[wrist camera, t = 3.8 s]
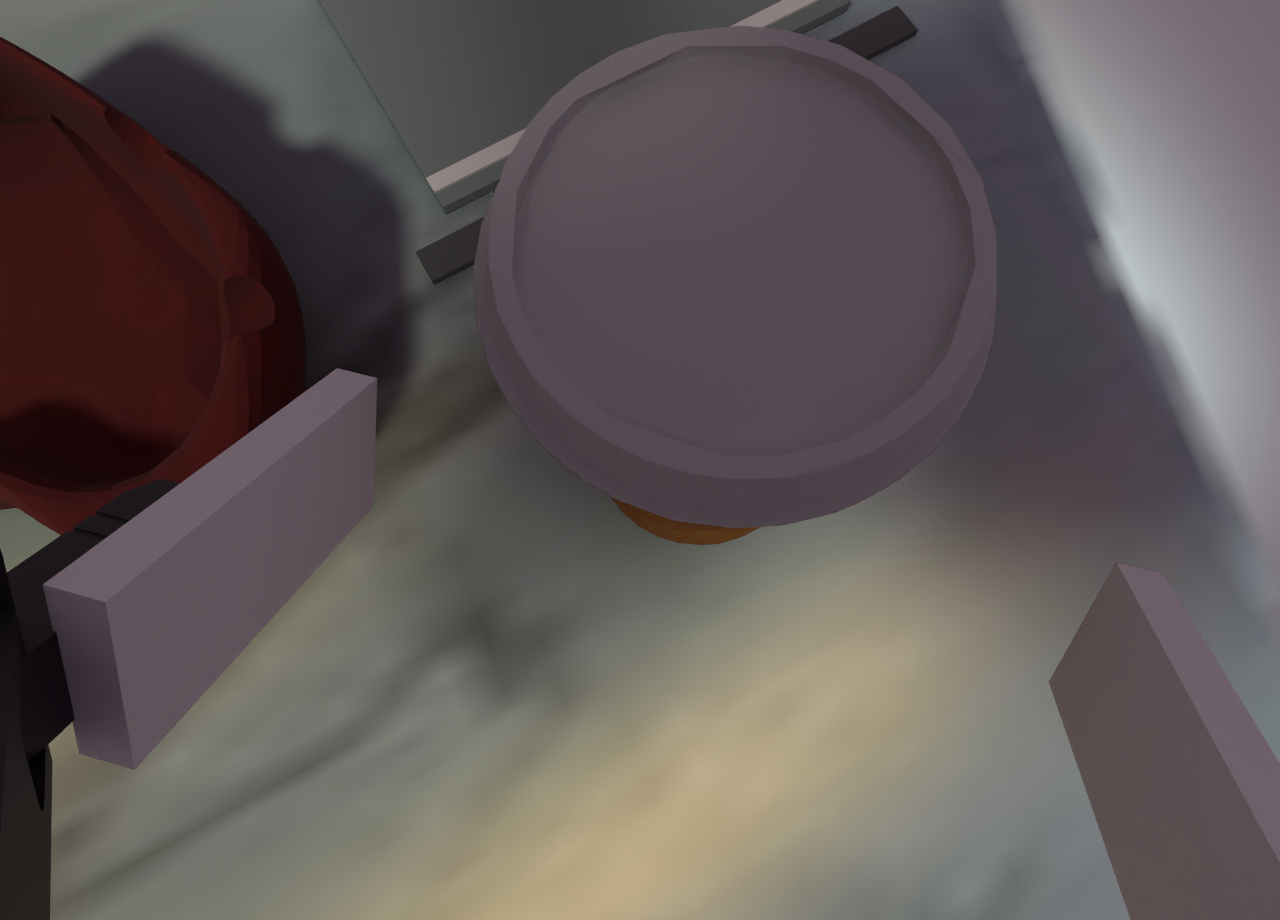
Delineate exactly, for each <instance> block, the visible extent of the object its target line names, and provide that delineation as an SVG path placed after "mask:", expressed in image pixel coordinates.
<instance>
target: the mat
mask: <svg viewBox="0 0 1280 920" xmlns="http://www.w3.org/2000/svg"><path fill="white" fill-rule="evenodd" d="M318 2H319V4H320V5H321V7H322V9H323V10H324V12H325V14H326V15H327V17H328V19H329V20H330V22H331V24H332V25H333V27H334V29H335V30H336V32H337V34H338V35H339V37H340V39H341V40H342V42H343V44H344V45H345V47H346V49H347V50H348V52H349V54H350V55H351V57H352V59H353V60H354V62H355V64H356V65H357V67H358V69H359V70H360V72H361V74H362V75H363V77H364V79H365V80H366V82H367V84H368V85H369V87H370V88H371V90H372V92H373V93H374V95H375V97H376V98H377V100H378V102H379V103H380V105H381V107H382V108H383V110H384V112H385V113H386V115H387V117H388V118H389V120H390V122H391V123H392V125H393V127H394V128H395V130H396V132H397V133H398V135H399V137H400V138H401V140H402V142H403V143H404V145H405V147H406V148H407V150H408V152H409V153H410V155H411V157H412V158H413V160H414V162H415V163H416V165H417V167H418V168H419V170H420V172H421V173H422V175H423V177H424V178H425V180H426V182H427V183H428V185H429V187H430V188H431V190H432V192H433V193H434V195H435V197H436V198H437V200H438V202H439V203H440V205H441V207H442V208H443V210H444V212H445V213H446V214H447V213H449V212H451V211H453V210H455V209H457V208H459V207H461V206H463V205H465V204H467V203H469V202H471V201H473V200H475V199H477V198H479V197H481V196H483V195H485V194H487V193H489V192H491V191H492V190H494V189H496V186H497V184H498V182H499V181H500V178H501V174H502V171H503V167H504V164H505V163H506V161H507V159H508V158H509V156H510V154H511V153H512V151H513V149H514V148H515V146H516V144H517V143H518V141H519V139H520V138H521V136H522V134H523V133H524V131H525V129H526V128H527V126H528V124H529V123H530V122H531V120H532V119H533V118H534V117H535V116H536V115H537V114H538V112H539V111H540V110H541V109H542V108H543V107H544V106H545V104H546V103H547V102H548V101H549V100H550V99H551V98H552V97H553V96H554V95H555V94H556V93H557V92H559V91H560V90H561V89H562V88H563V87H565V86H566V85H567V84H568V83H569V82H571V81H572V80H573V79H574V78H575V77H576V76H578V75H579V74H580V73H582V72H583V71H585V70H587V69H589V68H590V67H592V66H594V65H596V64H597V63H599V62H601V61H602V60H604V59H606V58H608V57H609V56H611V55H613V54H615V53H616V52H618V51H620V50H623V49H626V48H628V47H631V46H634V45H637V44H640V43H642V42H645V41H648V40H651V39H653V38H656V37H659V36H662V35H665V34H671V33H679V32H687V31H695V30H703V29H713V28H722V27H732V26H751V27H761V28H771V29H781V30H788V31H792V32H795V33H799V34H802V33H804V32H806V31H808V30H810V29H812V28H814V27H816V26H818V25H820V24H822V23H824V22H826V21H828V20H830V19H832V18H834V17H836V16H838V15H840V14H842V13H844V12H846V10H847V7H848V3H849V2H848V1H847V0H318Z"/></svg>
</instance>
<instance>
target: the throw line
mask: <svg viewBox="0 0 1280 920" xmlns="http://www.w3.org/2000/svg"><path fill="white" fill-rule="evenodd" d="M916 32H917V29H916V28H915V27H914V25H913V24H912V23H911V22H910V21H909V19H908V18H907V17H906V16H905V15H904V13H903V12H902V11H901V10H900V9H899V7H898V6H896V7H894V8H892V9H890V10H888V11H886V12H884V13H882V14H880V15H878V16H877V17H875V18H873V19H871V20H869V21H867V22H865V23H863V24H861V25H859V26H857V27H855V28H853V29H851V30H849V31H847V32H845V33H843V34H841V35H839V36H837V37H835V38H833V39H832V40H830V41H828V42H831V43H835V44H838V45H842V46H843V47H845V48H847V49H849V50H851V51H852V52H854V53H856V54H858V55H860V56H862V57H863V58H865V59H867V60H868V59H870V58H872V57H874V56H876V55H878V54H879V53H881V52H883V51H885V50H887V49H889V48H891V47H893V46H895V45H897V44H899V43H901V42H903V41H905V40H907V39H908V38H910V37H912V36H914V35H915V34H916ZM483 219H484V217H483V218H481V219H479V220H477V221H475V222H473V223H471V224H469V225H467V226H466V227H464V228H462V229H460V230H458V231H456V232H454V233H452V234H450V235H448V236H446V237H444V238H442V239H440V240H438V241H436V242H434V243H432V244H430V245H428V246H426V247H424V248H422V249H421V250H419V251H417V252H416V254H417V256H418V258H419V259H420V261H421V263H422V265H423V266H424V268H425V270H426V271H427V273H428V275H429V277H430V278H431V280H432V282H433V283H434V284H436V283H438V282H440V281H442V280H444V279H445V278H447V277H449V276H451V275H453V274H455V273H457V272H459V271H461V270H463V269H465V268H467V267H469V266H471V265H472V264H474V262H475V256H476V251H477V246H478V240H479V235H480V229H481V224H482V222H483Z"/></svg>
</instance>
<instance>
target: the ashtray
mask: <svg viewBox="0 0 1280 920" xmlns="http://www.w3.org/2000/svg"><path fill="white" fill-rule="evenodd" d="M305 362H306V352H305V336H304V325H303V319H302V313H301V308H300V304H299V300H298V296H297V292H296V288H295V286H294V283H293V281H292V278H291V276H290V274H289V271H288V269H287V267H286V265H285V263H284V261H283V260H282V258H281V256H280V254H279V252H278V250H277V249H276V247H275V245H274V244H273V242H272V241H271V239H270V238H269V236H268V234H267V233H266V231H265V230H264V229H263V228H262V227H261V226H260V224H259V223H258V222H257V221H256V220H255V219H254V218H253V217H252V215H251V214H250V213H249V212H248V211H247V210H246V209H245V208H244V207H243V206H242V205H241V204H240V203H239V202H238V201H237V200H236V199H235V198H234V197H232V196H231V195H230V194H229V193H228V192H227V191H225V190H224V189H223V188H222V187H221V186H219V185H218V184H217V183H216V182H215V181H214V180H212V179H211V178H210V177H209V176H207V175H206V174H205V173H203V172H202V171H201V170H200V169H198V168H197V167H196V166H194V165H193V164H192V163H190V162H189V161H188V160H186V159H185V158H184V157H183V156H181V155H180V154H179V153H176V152H174V151H173V150H171V149H170V148H168V147H167V146H166V145H164V144H163V143H162V142H160V141H159V140H158V139H156V138H155V137H154V136H153V135H151V134H150V133H149V132H147V131H146V130H145V129H143V128H142V127H141V126H140V125H138V124H137V123H136V122H134V121H133V120H132V119H131V118H129V117H128V116H126V115H125V114H124V113H122V112H121V111H119V110H118V109H116V108H115V107H114V106H112V105H111V104H109V103H108V102H106V101H105V100H104V99H102V98H101V97H99V96H98V95H96V94H95V93H93V92H92V91H90V90H89V89H87V88H86V87H84V86H83V85H81V84H79V83H78V82H76V81H75V80H73V79H72V78H70V77H69V76H67V75H65V74H64V73H62V72H61V71H59V70H57V69H56V68H54V67H52V66H51V65H49V64H47V63H45V62H44V61H42V60H40V59H39V58H37V57H35V56H34V55H32V54H30V53H29V52H27V51H25V50H23V49H22V48H20V47H18V46H16V45H14V44H12V43H11V42H9V41H7V40H5V39H3V38H1V37H0V510H1V509H10V508H19V509H20V510H22V511H23V512H25V513H26V514H28V515H29V516H31V517H32V518H34V519H35V520H37V521H38V522H40V523H41V524H43V525H45V526H46V527H48V528H50V529H51V530H53V531H55V532H56V533H58V534H60V535H63V534H64V533H65V532H67V531H70V532H72V531H73V527H74V526H76V525H77V524H79V523H80V522H81V521H83V520H84V519H86V518H87V517H89V516H90V515H93V516H95V515H96V511H97V510H99V509H100V508H102V507H103V506H105V505H106V504H108V503H109V502H110V501H112V500H113V499H115V498H116V497H118V496H119V495H121V494H122V493H124V492H126V491H128V490H131V489H134V488H137V487H139V486H142V485H145V484H148V483H150V482H153V481H156V480H159V479H161V478H162V479H165V480H169V481H173V482H177V483H182V482H183V481H184V480H186V479H187V478H188V477H190V476H191V475H192V474H194V473H195V472H197V471H198V470H199V469H201V468H202V467H203V466H205V465H206V464H207V463H209V462H210V461H212V460H213V459H214V458H216V457H217V456H218V455H220V454H221V453H222V452H224V451H225V450H226V449H228V448H229V447H231V446H232V445H233V444H235V443H236V442H237V441H239V440H240V439H241V438H243V437H244V436H246V435H247V434H248V433H250V432H251V431H252V430H254V429H255V428H256V427H258V426H259V425H260V424H262V423H263V422H265V421H266V420H267V419H269V418H270V417H271V416H273V415H274V414H275V413H277V412H278V411H280V410H281V409H282V408H284V407H285V406H286V405H288V404H289V403H290V402H292V401H293V400H294V399H296V398H297V397H299V396H300V395H301V394H303V393H304V392H305Z"/></svg>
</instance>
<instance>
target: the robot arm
mask: <svg viewBox="0 0 1280 920" xmlns="http://www.w3.org/2000/svg"><path fill="white" fill-rule="evenodd" d="M376 406H377V378H375V377H371V376H367V375H363V374H359V373H355V372H350V371H346V370H342V369H338V368H337V369H335V370H334V371H333V372H331V373H330V374H328V375H327V376H326V377H324V378H323V379H322V380H320V381H319V382H318V383H316V384H315V385H314V386H312V387H311V388H309V389H308V390H307V391H305V392H304V393H303V394H301V395H300V396H299V397H297V398H296V399H294V400H293V401H292V402H290V403H289V404H288V405H286V406H285V407H284V408H282V409H281V410H280V411H278V412H277V413H275V414H274V415H273V416H271V417H270V418H269V419H267V420H266V421H265V422H263V423H262V424H260V425H259V426H258V427H256V428H255V429H254V430H252V431H251V432H250V433H248V434H247V435H246V436H244V437H243V438H241V439H240V440H239V441H237V442H236V443H235V444H233V445H232V446H231V447H229V448H228V449H226V450H225V451H224V452H222V453H221V454H220V455H218V456H217V457H216V458H214V459H213V460H212V461H210V462H209V463H207V464H206V465H205V466H203V467H202V468H201V469H199V470H198V471H197V472H195V473H194V474H192V475H191V476H190V477H188V478H187V479H186V480H184V481H183V482H182V483H177V482H173V481H169V480H165V479H162V478H161V479H159V480H156V481H153V482H150V483H148V484H145V485H142V486H139V487H137V488H134V489H131V490H128V491H126V492H124V493H122V494H121V495H119V496H118V497H116V498H115V499H113V500H112V501H110V502H109V503H108V504H106V505H105V506H103V507H102V508H100V509H99V510H97V511H96V515H95V516H93V515H90V516H89V517H87V518H86V519H84V520H83V521H81V522H80V523H79V524H77V525H76V526H74V527H73V531H72V532H70V531H67V532H65V533H64V534H63V535H61V536H60V537H58V538H57V539H55V540H54V541H52V542H51V543H49V544H48V545H47V546H45V547H44V548H42V549H41V550H39V551H38V552H36V553H35V554H33V555H32V556H31V557H29V558H28V559H26V560H25V561H23V562H22V563H20V564H19V565H17V566H16V567H15V568H13V569H12V570H10V571H9V572H6V568H5V564H4V560H3V556H2V552H1V549H0V920H50V878H51V811H52V758H51V754H50V750H49V746H48V744H49V743H50V742H51V741H52V740H53V739H54V738H55V737H56V736H58V735H59V734H60V733H61V732H62V731H63V730H64V729H65V728H66V727H67V726H68V725H69V724H70V723H71V722H73V726H74V731H75V735H76V740H77V745H78V749H79V754H83V755H86V756H90V757H93V758H96V759H100V760H103V761H107V762H110V763H113V764H117V765H120V766H124V767H127V768H130V769H134V770H135V769H136V768H137V767H138V766H139V764H140V763H141V762H142V761H143V760H144V759H145V758H146V757H147V756H148V754H149V753H150V752H151V751H152V750H153V749H154V748H155V747H156V746H157V745H158V743H159V742H160V741H161V740H162V739H163V738H164V737H165V736H166V735H167V734H168V732H169V731H170V730H171V729H172V728H173V727H174V726H175V725H176V724H177V722H178V721H179V720H180V719H181V718H182V717H183V716H184V715H185V714H186V713H187V711H188V710H189V709H190V708H191V707H192V706H193V705H194V704H195V703H196V701H197V700H198V699H199V698H200V697H201V696H202V695H203V694H204V693H205V692H206V690H207V689H208V688H209V687H210V686H211V685H212V684H213V683H214V682H215V680H216V679H217V678H218V677H219V676H220V675H221V674H222V673H223V672H224V671H225V669H226V668H227V667H228V666H229V665H230V664H231V663H232V662H233V661H234V659H235V658H236V657H237V656H238V655H239V654H240V653H241V652H242V651H243V650H244V648H245V647H246V646H247V645H248V644H249V643H250V642H251V641H252V640H253V639H254V637H255V636H256V635H257V634H258V633H259V632H260V631H261V630H262V629H263V627H264V626H265V625H266V624H267V623H268V622H269V621H270V620H271V619H272V618H273V616H274V615H275V614H276V613H277V612H278V611H279V610H280V609H281V608H282V606H283V605H284V604H285V603H286V602H287V601H288V600H289V599H290V598H291V597H292V595H293V594H294V593H295V592H296V591H297V590H298V589H299V588H300V587H301V585H302V584H303V583H304V582H305V581H306V580H307V579H308V578H309V577H310V576H311V574H312V573H313V572H314V571H315V570H316V569H317V568H318V567H319V566H320V565H321V563H322V562H323V561H324V560H325V559H326V558H327V557H328V556H329V555H330V553H331V552H332V551H333V550H334V549H335V548H336V547H337V546H338V545H339V544H340V542H341V541H342V540H343V539H344V538H345V537H346V536H347V535H348V534H349V532H350V531H351V530H352V529H353V528H354V527H355V526H356V525H357V524H358V523H359V521H360V520H361V519H362V518H363V517H364V516H365V515H366V514H367V513H368V511H369V510H370V509H371V508H372V507H373V506H374V484H375V445H376ZM1049 684H1050V687H1051V690H1052V692H1053V695H1054V698H1055V701H1056V704H1057V707H1058V710H1059V713H1060V716H1061V719H1062V721H1063V724H1064V727H1065V730H1066V733H1067V736H1068V739H1069V742H1070V745H1071V748H1072V751H1073V753H1074V756H1075V759H1076V762H1077V765H1078V768H1079V771H1080V774H1081V777H1082V780H1083V783H1084V785H1085V788H1086V791H1087V794H1088V797H1089V800H1090V803H1091V806H1092V809H1093V812H1094V814H1095V817H1096V820H1097V823H1098V826H1099V829H1100V832H1101V835H1102V838H1103V841H1104V844H1105V846H1106V849H1107V852H1108V855H1109V858H1110V861H1111V864H1112V867H1113V870H1114V873H1115V876H1116V878H1117V881H1118V884H1119V887H1120V890H1121V893H1122V896H1123V899H1124V902H1125V905H1126V908H1127V910H1128V913H1129V916H1130V919H1131V920H1280V763H1279V762H1278V760H1277V758H1276V757H1275V755H1274V753H1273V752H1272V750H1271V749H1270V747H1269V745H1268V744H1267V742H1266V740H1265V739H1264V737H1263V736H1262V734H1261V732H1260V731H1259V729H1258V727H1257V726H1256V724H1255V723H1254V721H1253V719H1252V718H1251V716H1250V714H1249V713H1248V711H1247V710H1246V708H1245V706H1244V705H1243V703H1242V701H1241V700H1240V698H1239V697H1238V695H1237V693H1236V692H1235V690H1234V688H1233V687H1232V685H1231V683H1230V682H1229V680H1228V679H1227V677H1226V675H1225V674H1224V672H1223V670H1222V669H1221V667H1220V666H1219V664H1218V662H1217V661H1216V659H1215V657H1214V656H1213V654H1212V653H1211V651H1210V649H1209V648H1208V646H1207V644H1206V643H1205V641H1204V640H1203V638H1202V636H1201V635H1200V633H1199V631H1198V630H1197V628H1196V627H1195V625H1194V623H1193V622H1192V620H1191V618H1190V617H1189V615H1188V614H1187V612H1186V610H1185V609H1184V607H1183V605H1182V604H1181V602H1180V600H1179V599H1178V597H1177V596H1176V594H1175V592H1174V591H1173V589H1172V587H1171V586H1170V584H1169V583H1168V581H1167V579H1166V578H1165V576H1164V574H1162V573H1158V572H1154V571H1150V570H1146V569H1142V568H1138V567H1134V566H1130V565H1126V564H1122V563H1118V562H1116V564H1115V566H1114V568H1113V570H1112V571H1111V573H1110V575H1109V577H1108V578H1107V580H1106V582H1105V584H1104V585H1103V587H1102V589H1101V591H1100V592H1099V594H1098V596H1097V598H1096V600H1095V601H1094V603H1093V605H1092V607H1091V608H1090V610H1089V612H1088V614H1087V615H1086V617H1085V619H1084V621H1083V622H1082V624H1081V626H1080V628H1079V630H1078V631H1077V633H1076V635H1075V637H1074V638H1073V640H1072V642H1071V644H1070V645H1069V647H1068V649H1067V651H1066V652H1065V654H1064V656H1063V658H1062V660H1061V661H1060V663H1059V665H1058V667H1057V668H1056V670H1055V672H1054V674H1053V675H1052V677H1051V679H1050V681H1049Z"/></svg>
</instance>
